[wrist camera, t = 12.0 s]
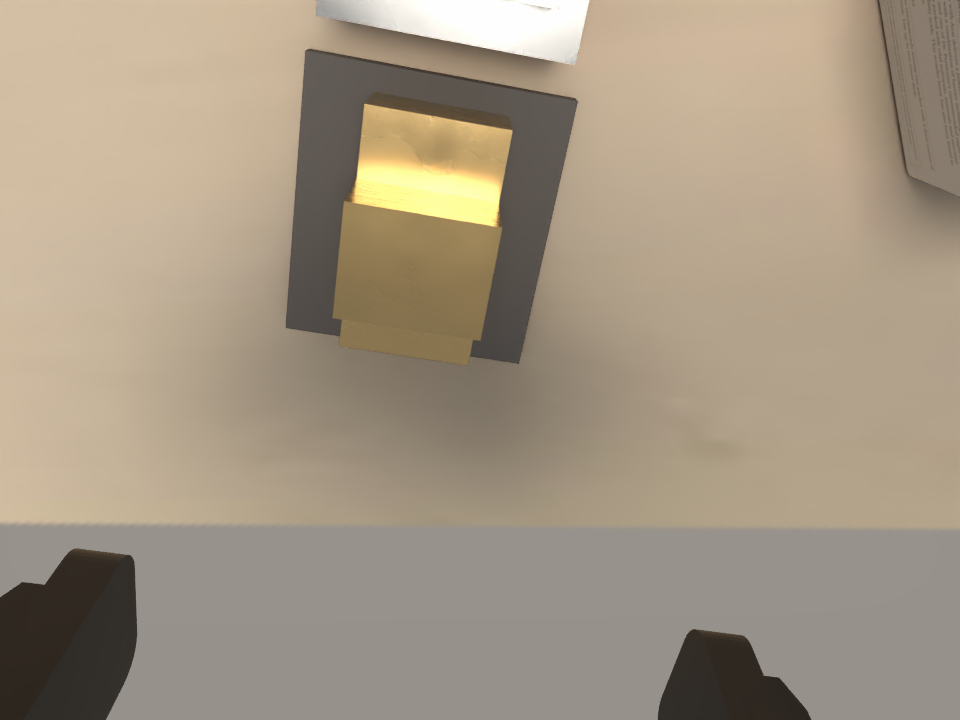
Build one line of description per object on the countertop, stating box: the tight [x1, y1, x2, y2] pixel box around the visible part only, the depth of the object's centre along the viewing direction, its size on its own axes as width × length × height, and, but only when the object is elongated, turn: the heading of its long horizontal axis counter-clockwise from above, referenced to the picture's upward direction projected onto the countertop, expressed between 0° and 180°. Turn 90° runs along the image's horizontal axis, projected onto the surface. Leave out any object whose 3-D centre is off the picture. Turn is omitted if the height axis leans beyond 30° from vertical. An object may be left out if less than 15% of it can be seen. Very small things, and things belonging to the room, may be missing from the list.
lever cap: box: [332, 92, 513, 366], centre depth 27 cm, size 5×9×6 cm, turn 170°
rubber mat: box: [286, 49, 578, 364], centre depth 30 cm, size 10×11×1 cm
